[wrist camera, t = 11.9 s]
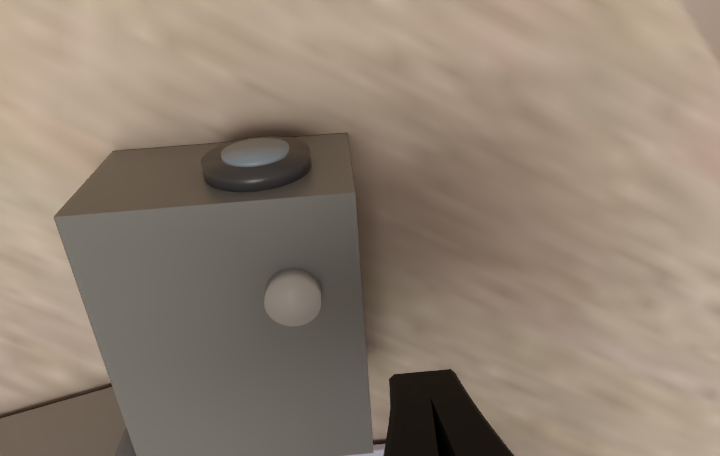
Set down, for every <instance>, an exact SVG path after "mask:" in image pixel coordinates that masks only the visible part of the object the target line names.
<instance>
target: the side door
mask: <svg viewBox="0 0 720 456" xmlns="http://www.w3.org/2000/svg"><path fill="white" fill-rule="evenodd" d="M0 456H136V453H135V450H134V447H133V445H132V442H131V439H130V436H129V433H128V430H127V427H126V424H125V421H124V419H123V416H122V413H121V410H120V407H119V404H118V401H117V398H116V396H115V393H114V390H113V387H109V388H106V389H102V390H99V391H95V392H92V393H88V394H85V395H81V396H78V397H74V398H71V399H67V400H64V401H60V402H57V403H53V404H49V405H46V406H42V407H39V408H35V409H32V410H28V411H25V412H21V413H18V414H14V415H11V416H7V417H4V418H0Z"/></svg>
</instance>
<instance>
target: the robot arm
mask: <svg viewBox="0 0 720 456" xmlns="http://www.w3.org/2000/svg"><path fill="white" fill-rule="evenodd" d="M389 384H390V405H391V406H390V417H389V426H388V432H387V438H386V444H377V445H373V452H374V453H367V454H357V455H346V456H514V455H513V454H512V452H511V451H510V450H509V449H508V448H507V446H506V445H505V444H504V443H503V441H502V440H501V439H500V437H499V436H498V435H497V434H496V432H495V431H494V430H493V429H492V427H491V426H490V425H489V423H488V422H487V421H486V419H485V418H484V416H483V415H482V414H481V412H480V411H479V409H478V408H477V407H476V405H475V404H474V402H473V401H472V399H471V398H470V396H469V395H468V393H467V392H466V390H465V389H464V387H463V385H462V384H461V382H460V380H459V379H458V377H457V375H456V374H455V373H454V372H453V371H452V370H451V369H449V370H438V371H427V372H416V373H405V374H394V375H393V376H392V377H391V378H390V379H389Z"/></svg>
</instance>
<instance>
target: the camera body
mask: <svg viewBox="0 0 720 456" xmlns="http://www.w3.org/2000/svg"><path fill="white" fill-rule="evenodd" d="M54 220H55V223H56V226H57V228H58V231H59V234H60V237H61V240H62V243H63V246H64V249H65V251H66V254H67V257H68V260H69V263H70V266H71V269H72V272H73V275H74V277H75V280H76V283H77V286H78V289H79V292H80V295H81V298H82V300H83V303H84V306H85V309H86V312H87V315H88V318H89V321H90V324H91V326H92V329H93V332H94V335H95V338H96V341H97V344H98V347H99V349H100V352H101V355H102V358H103V361H104V364H105V367H106V370H107V373H108V375H109V378H110V381H111V384H112V387H113V390H114V393H115V396H116V398H117V401H118V404H119V407H120V410H121V413H122V416H123V419H124V421H125V424H126V427H127V430H128V433H129V436H130V439H131V442H132V445H133V447H134V450H135V453H136V456H346V455H357V454H367V453H374V452H373V438H372V423H371V409H370V395H369V380H368V366H367V352H366V337H365V323H364V309H363V294H362V280H361V266H360V251H359V237H358V223H357V208H356V194H355V186H354V179H353V172H352V165H351V157H350V150H349V143H348V136H347V133H338V134H325V135H313V136H300V137H281V136H263V137H253V138H246V139H241V140H236V141H232V142H223V143H211V144H198V145H185V146H172V147H160V148H147V149H134V150H121V151H113V152H112V153H111V154H110V155H109V156H108V157H107V158H106V159H105V161H104V162H103V163H102V164H101V165H100V166H99V167H98V168H97V169H96V170H95V172H94V173H93V174H92V175H91V176H90V177H89V178H88V179H87V180H86V182H85V183H84V184H83V185H82V186H81V187H80V188H79V189H78V190H77V192H76V193H75V194H74V195H73V196H72V197H71V198H70V199H69V200H68V202H67V203H66V204H65V205H64V206H63V207H62V208H61V209H60V210H59V211H58V213H57V214H56V215H55V216H54Z"/></svg>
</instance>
